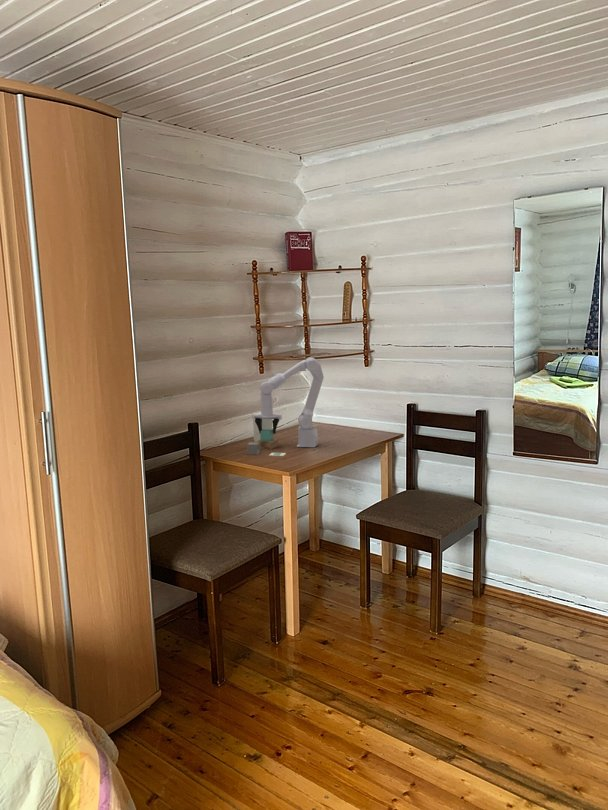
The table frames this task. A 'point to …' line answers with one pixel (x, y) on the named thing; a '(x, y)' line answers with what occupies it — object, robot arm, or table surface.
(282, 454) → the card
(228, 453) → the table surface
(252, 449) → the charcoal cube
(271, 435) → the teal cube
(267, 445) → the walnut block
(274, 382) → the robot arm
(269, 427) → the skincare box
